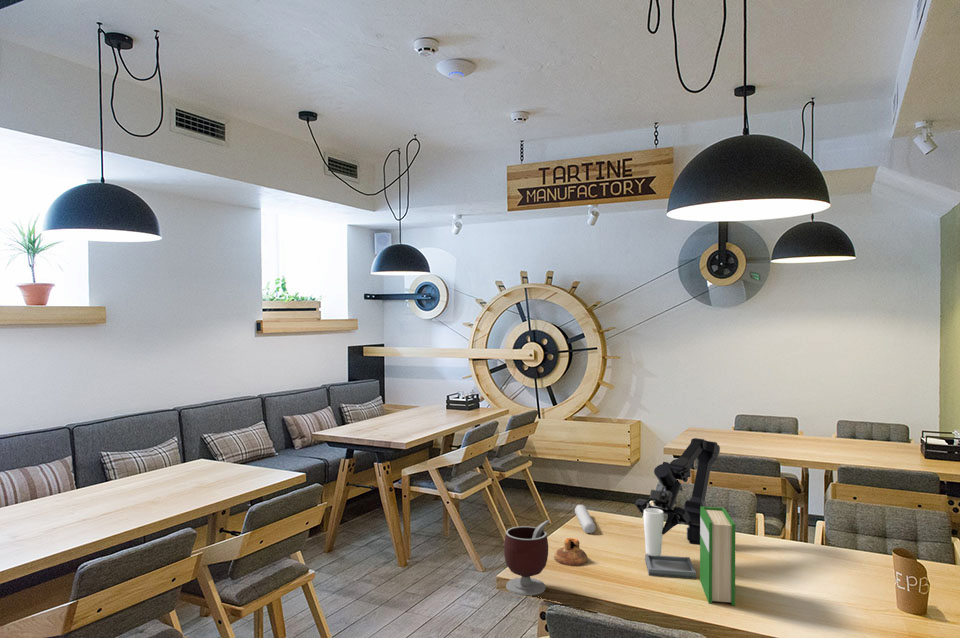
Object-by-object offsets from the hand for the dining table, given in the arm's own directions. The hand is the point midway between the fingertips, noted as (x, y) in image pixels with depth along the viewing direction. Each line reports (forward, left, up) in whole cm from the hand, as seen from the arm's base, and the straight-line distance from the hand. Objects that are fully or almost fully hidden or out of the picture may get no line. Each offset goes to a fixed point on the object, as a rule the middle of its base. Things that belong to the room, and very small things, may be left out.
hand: (653, 531), depth 219 cm
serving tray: (-5, +3, -11) cm, 13 cm away
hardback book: (-17, +20, -11) cm, 29 cm away
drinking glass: (0, 0, -8) cm, 8 cm away
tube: (+24, -40, -12) cm, 48 cm away
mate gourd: (+41, +27, -11) cm, 51 cm away
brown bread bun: (+28, +1, -12) cm, 31 cm away
